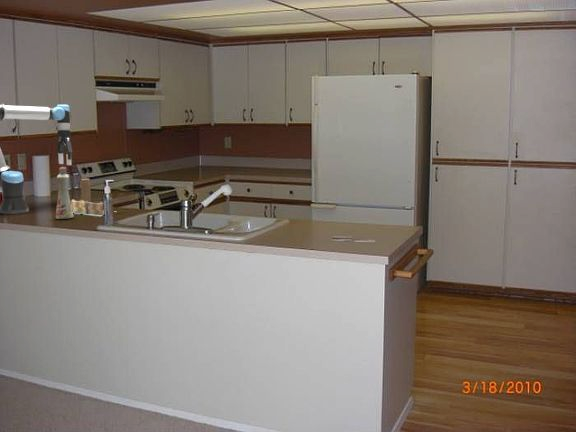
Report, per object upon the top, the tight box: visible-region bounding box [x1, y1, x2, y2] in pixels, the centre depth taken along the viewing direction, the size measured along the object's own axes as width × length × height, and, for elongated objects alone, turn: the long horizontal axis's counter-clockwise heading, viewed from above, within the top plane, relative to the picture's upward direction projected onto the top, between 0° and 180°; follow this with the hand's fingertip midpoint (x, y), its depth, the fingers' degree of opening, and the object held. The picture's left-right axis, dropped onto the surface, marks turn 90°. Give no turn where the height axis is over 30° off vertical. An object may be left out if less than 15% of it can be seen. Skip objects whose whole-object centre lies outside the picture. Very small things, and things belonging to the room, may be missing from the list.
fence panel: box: [70, 198, 86, 213], centre depth 393 cm, size 12×1×7 cm, turn 56°
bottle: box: [55, 166, 74, 220], centre depth 373 cm, size 9×9×28 cm
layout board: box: [73, 210, 116, 218], centre depth 394 cm, size 17×28×1 cm, turn 56°
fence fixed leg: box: [85, 201, 105, 215], centre depth 386 cm, size 14×2×8 cm, turn 56°
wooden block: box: [79, 178, 92, 203], centre depth 410 cm, size 9×4×18 cm, turn 98°
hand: (65, 164), depth 431 cm, fingers open, 13 cm apart
